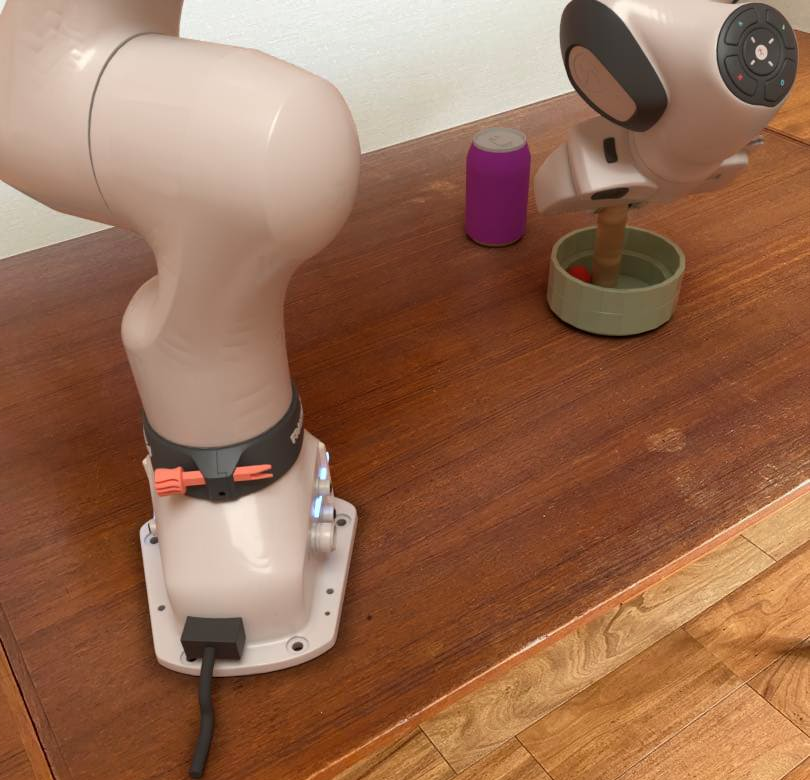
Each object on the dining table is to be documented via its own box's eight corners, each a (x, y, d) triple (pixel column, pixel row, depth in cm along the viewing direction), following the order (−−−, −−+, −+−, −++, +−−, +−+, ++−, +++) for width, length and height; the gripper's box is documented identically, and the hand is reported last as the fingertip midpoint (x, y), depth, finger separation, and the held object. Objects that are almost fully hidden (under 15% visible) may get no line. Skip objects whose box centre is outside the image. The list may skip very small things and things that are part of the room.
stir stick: (620, 289, 97) (642, 143, 85) (593, 291, 97) (612, 146, 85) (613, 275, 99) (633, 131, 87) (587, 277, 99) (604, 134, 87)
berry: (597, 284, 96) (578, 266, 95) (577, 303, 98) (558, 285, 97) (596, 273, 98) (577, 256, 97) (576, 292, 100) (558, 275, 99)
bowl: (691, 335, 93) (704, 285, 89) (562, 346, 93) (568, 297, 88) (652, 267, 103) (662, 219, 99) (535, 277, 102) (539, 229, 98)
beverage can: (452, 233, 110) (453, 136, 101) (497, 214, 113) (502, 119, 104) (492, 256, 106) (496, 158, 97) (538, 236, 109) (546, 139, 100)
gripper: (768, 98, 79) (697, 161, 93) (554, 126, 76) (514, 187, 90) (779, 167, 79) (707, 220, 93) (566, 197, 77) (525, 247, 90)
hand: (611, 204), depth 92 cm, fingers closed on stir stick, 3 cm apart
